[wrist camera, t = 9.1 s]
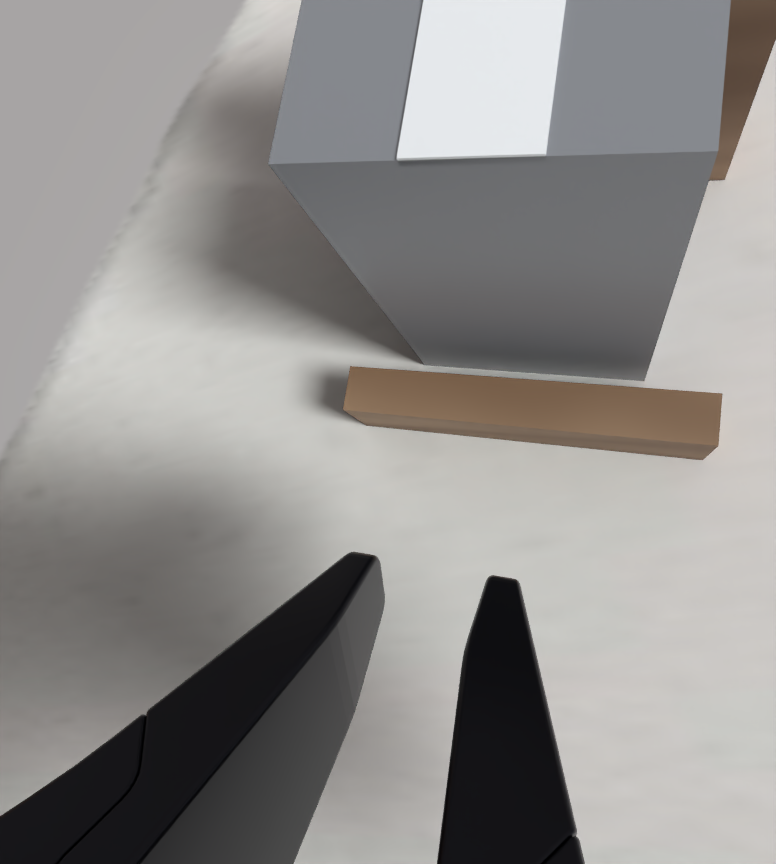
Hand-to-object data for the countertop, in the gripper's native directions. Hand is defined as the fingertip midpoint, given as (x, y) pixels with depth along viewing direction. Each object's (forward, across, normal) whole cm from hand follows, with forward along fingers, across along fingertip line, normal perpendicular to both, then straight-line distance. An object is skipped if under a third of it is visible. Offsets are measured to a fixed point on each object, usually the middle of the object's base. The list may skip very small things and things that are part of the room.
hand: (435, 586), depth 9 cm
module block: (+12, 0, 0) cm, 12 cm away
